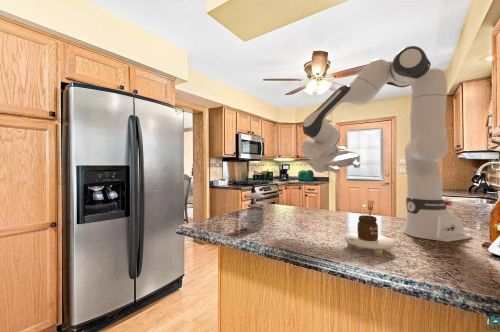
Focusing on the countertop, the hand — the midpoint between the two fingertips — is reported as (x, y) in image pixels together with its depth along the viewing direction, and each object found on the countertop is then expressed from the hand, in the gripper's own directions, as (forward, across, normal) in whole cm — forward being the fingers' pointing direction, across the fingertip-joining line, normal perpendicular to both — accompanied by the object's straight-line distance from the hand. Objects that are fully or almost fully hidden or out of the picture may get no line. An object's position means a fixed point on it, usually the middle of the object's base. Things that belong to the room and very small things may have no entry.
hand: (348, 168), depth 92 cm
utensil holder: (+20, -8, +15) cm, 27 cm away
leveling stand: (+22, -8, +18) cm, 30 cm away
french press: (-15, -33, +28) cm, 46 cm away
